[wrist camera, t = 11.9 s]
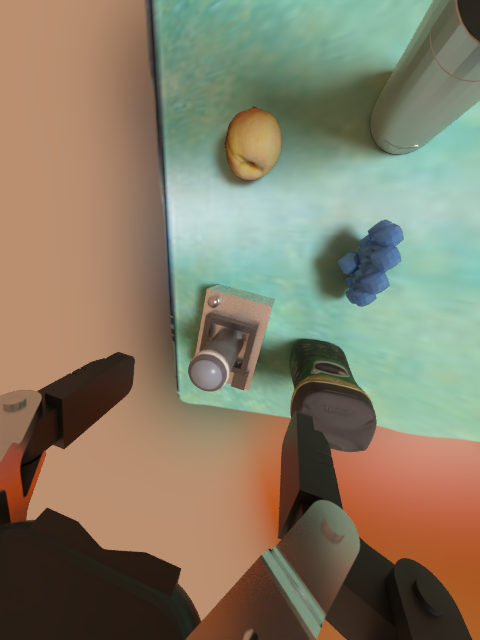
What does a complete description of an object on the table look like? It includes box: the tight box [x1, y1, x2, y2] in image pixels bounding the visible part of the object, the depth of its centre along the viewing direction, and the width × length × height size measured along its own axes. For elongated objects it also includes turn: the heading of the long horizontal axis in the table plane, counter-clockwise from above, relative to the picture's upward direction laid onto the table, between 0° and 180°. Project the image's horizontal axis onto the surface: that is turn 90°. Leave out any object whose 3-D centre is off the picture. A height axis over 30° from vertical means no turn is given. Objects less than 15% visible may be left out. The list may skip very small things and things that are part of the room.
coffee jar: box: [289, 340, 376, 452], centre depth 34 cm, size 10×8×19 cm
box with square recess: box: [195, 284, 275, 390], centre depth 40 cm, size 16×11×8 cm
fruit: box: [225, 106, 282, 180], centre depth 32 cm, size 8×8×8 cm
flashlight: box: [188, 328, 243, 391], centre depth 33 cm, size 5×5×11 cm
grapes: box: [338, 220, 404, 307], centre depth 31 cm, size 12×7×12 cm, turn 172°
